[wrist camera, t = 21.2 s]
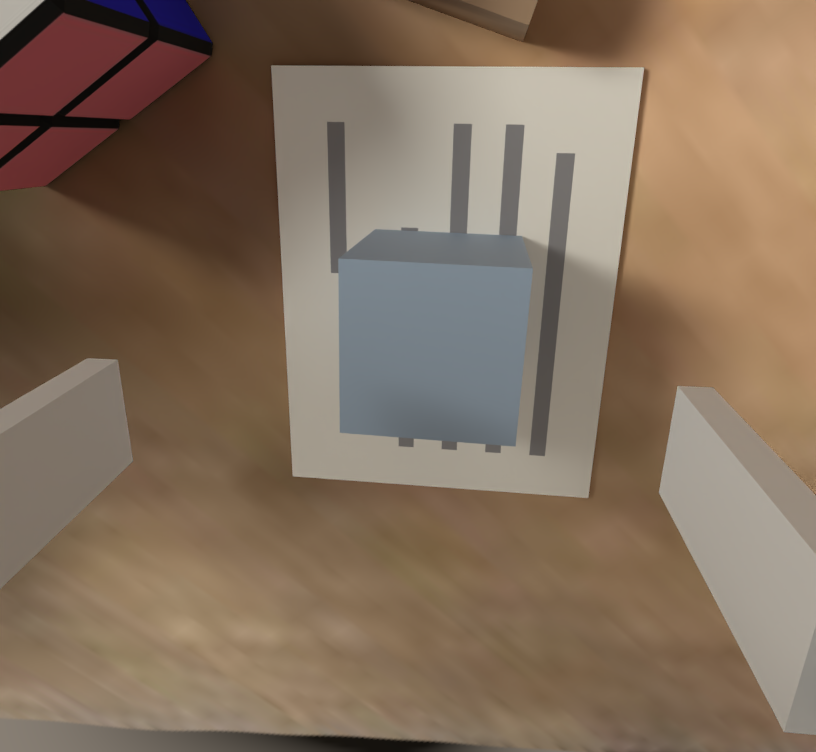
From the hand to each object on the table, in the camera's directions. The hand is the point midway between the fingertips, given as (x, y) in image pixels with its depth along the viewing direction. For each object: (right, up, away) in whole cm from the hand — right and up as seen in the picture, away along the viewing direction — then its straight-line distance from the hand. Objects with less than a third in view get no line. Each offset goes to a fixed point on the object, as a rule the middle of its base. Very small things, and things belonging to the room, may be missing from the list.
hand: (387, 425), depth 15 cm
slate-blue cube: (+2, +4, +12) cm, 13 cm away
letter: (+2, +4, +12) cm, 13 cm away
